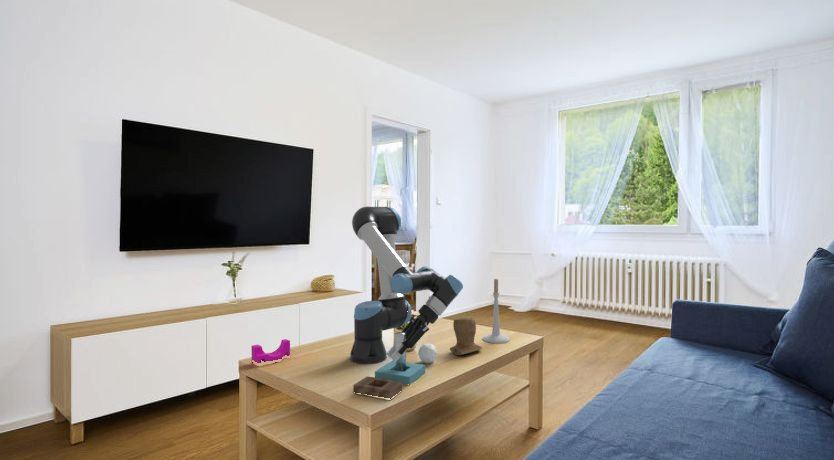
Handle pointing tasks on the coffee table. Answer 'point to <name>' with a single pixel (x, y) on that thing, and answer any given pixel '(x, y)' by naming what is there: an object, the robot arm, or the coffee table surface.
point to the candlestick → (496, 321)
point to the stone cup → (464, 336)
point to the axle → (401, 362)
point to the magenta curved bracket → (278, 354)
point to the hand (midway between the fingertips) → (390, 358)
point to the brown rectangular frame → (378, 387)
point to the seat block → (400, 372)
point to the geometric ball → (427, 353)
